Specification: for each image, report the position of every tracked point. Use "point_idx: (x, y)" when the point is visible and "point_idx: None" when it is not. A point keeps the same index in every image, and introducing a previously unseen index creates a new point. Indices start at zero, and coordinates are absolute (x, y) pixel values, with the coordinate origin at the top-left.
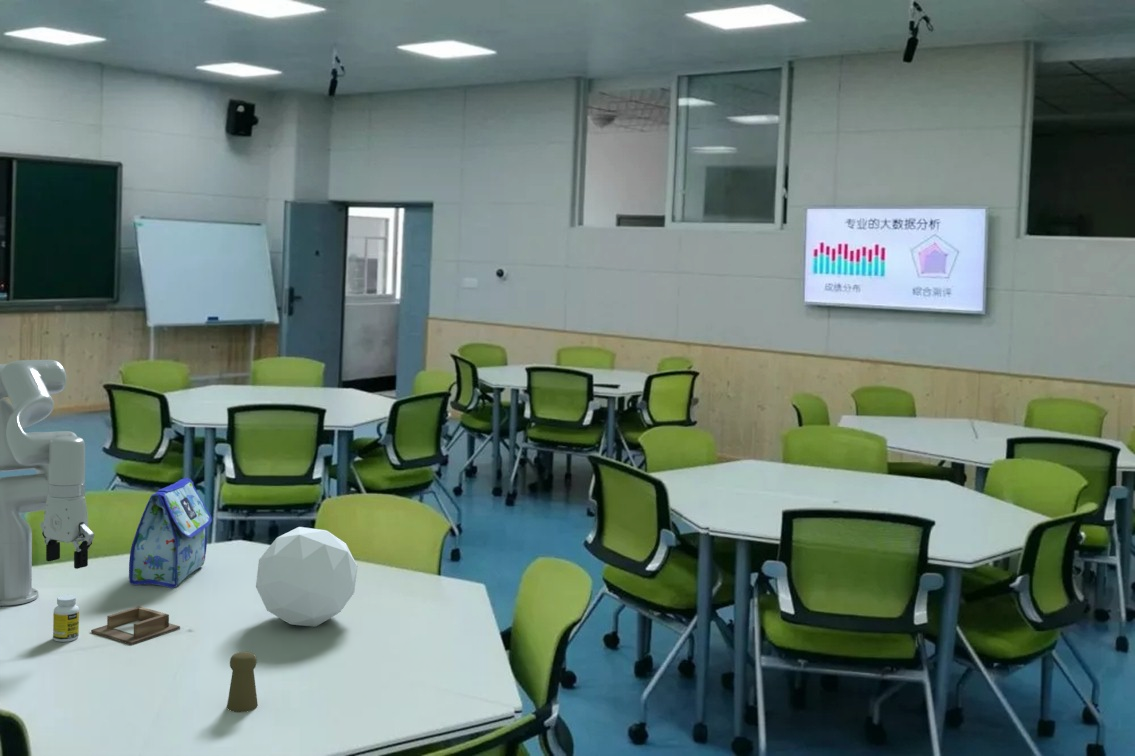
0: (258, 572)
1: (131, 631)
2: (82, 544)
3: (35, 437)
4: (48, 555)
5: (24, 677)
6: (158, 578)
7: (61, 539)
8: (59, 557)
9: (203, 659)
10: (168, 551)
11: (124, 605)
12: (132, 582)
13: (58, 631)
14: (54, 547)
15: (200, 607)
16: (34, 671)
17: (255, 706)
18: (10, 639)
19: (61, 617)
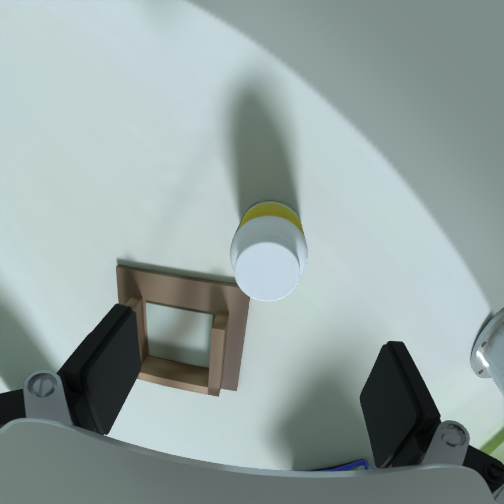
0: None
1: (164, 314)
2: (5, 412)
3: None
4: (396, 365)
5: (156, 14)
6: None
7: (135, 468)
8: (361, 400)
9: (7, 264)
10: None
11: (312, 413)
12: (362, 462)
13: (265, 204)
14: (389, 430)
15: (192, 439)
16: (163, 42)
17: None
18: (383, 161)
19: (253, 216)
